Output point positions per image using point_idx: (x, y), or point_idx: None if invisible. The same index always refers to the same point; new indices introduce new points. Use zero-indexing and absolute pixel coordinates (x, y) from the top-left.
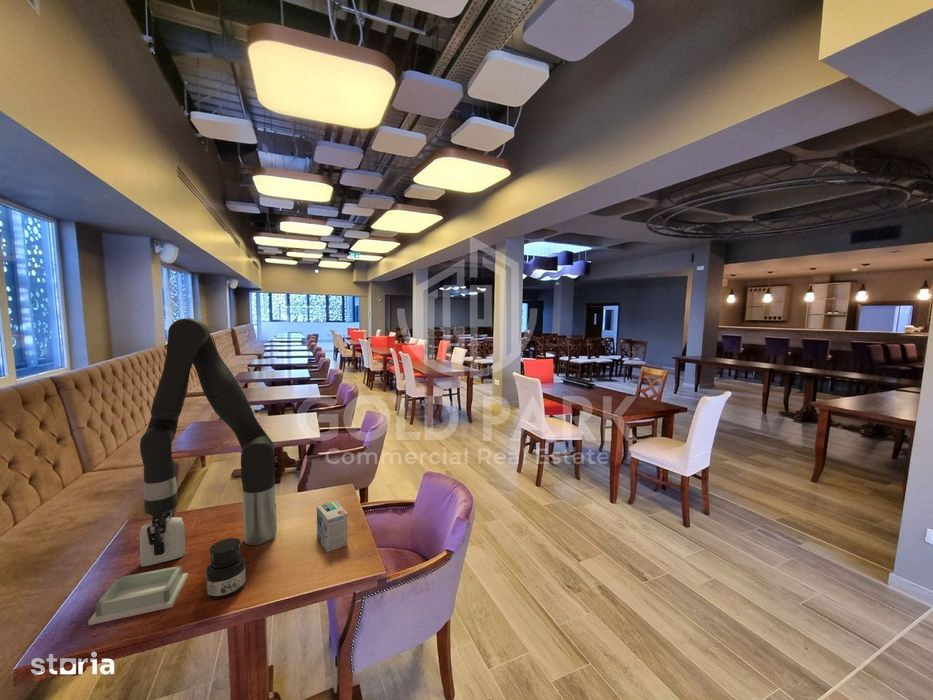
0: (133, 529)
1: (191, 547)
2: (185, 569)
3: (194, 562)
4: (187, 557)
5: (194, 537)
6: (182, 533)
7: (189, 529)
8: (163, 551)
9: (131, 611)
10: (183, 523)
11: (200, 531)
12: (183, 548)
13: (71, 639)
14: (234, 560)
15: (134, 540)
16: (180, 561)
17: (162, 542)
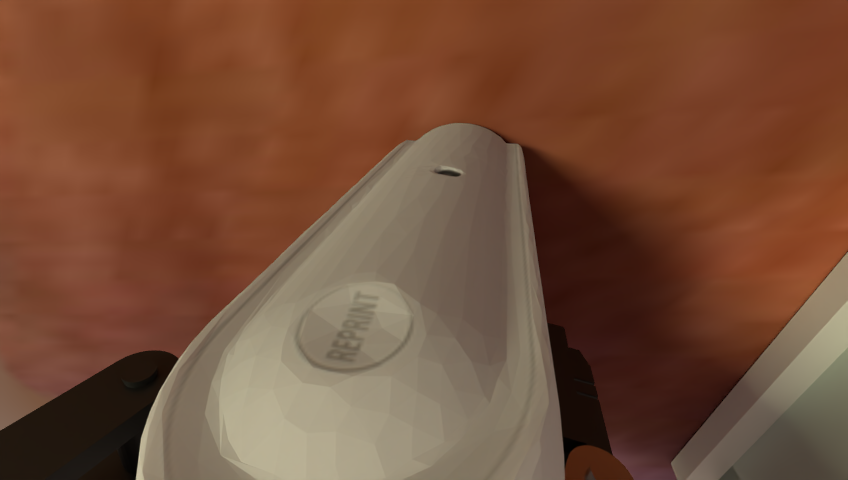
0: (33, 379)
1: (362, 67)
2: (798, 96)
3: (719, 11)
4: (545, 92)
5: (181, 53)
6: (482, 232)
7: (41, 105)
8: (563, 339)
9: None
10: (318, 312)
11: (80, 3)
12: (484, 145)
13: None
14: None
15: None
16: (580, 148)
17: (581, 442)
